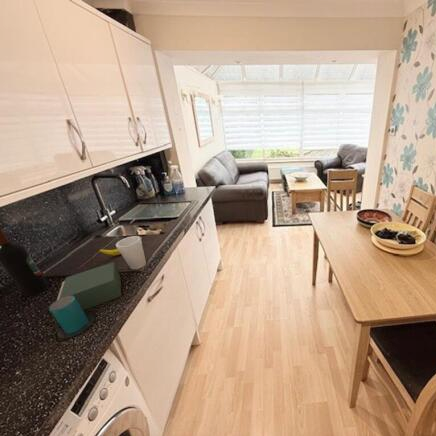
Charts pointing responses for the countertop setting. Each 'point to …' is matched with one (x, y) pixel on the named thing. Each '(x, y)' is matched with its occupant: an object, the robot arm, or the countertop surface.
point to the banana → (111, 251)
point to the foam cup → (132, 251)
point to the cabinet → (93, 286)
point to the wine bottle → (21, 267)
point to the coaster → (63, 335)
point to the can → (68, 314)
